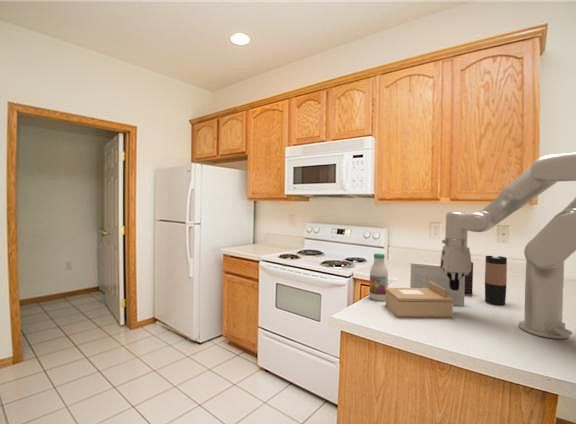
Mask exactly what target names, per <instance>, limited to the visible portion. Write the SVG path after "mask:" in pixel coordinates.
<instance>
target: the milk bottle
mask: <svg viewBox="0 0 576 424" xmlns="http://www.w3.org/2000/svg"><path fill="white" fill-rule="evenodd" d="M385 257H386V256H385V253H374V254H373V259H374V260H373V261H374V262H373V263H372V266H371V268H370V272H369V298H370V299H371V300H373V301H378V302H384V301H385V302H386V290H385V288H389V277H388V276H389V274H388V269H387V266H386V264H385Z"/></svg>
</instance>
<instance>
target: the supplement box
mask: <svg viewBox="0 0 576 424" xmlns="http://www.w3.org/2000/svg"><path fill="white" fill-rule="evenodd" d="M473 280H474V262H472V261H471V272H469V275H466V276H465V284H464V297H473V285H474V284H473V282H474V281H473Z"/></svg>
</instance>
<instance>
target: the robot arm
mask: <svg viewBox="0 0 576 424" xmlns="http://www.w3.org/2000/svg"><path fill="white" fill-rule="evenodd" d="M557 182H576V152H566V153H555V154H554V153H553V154H546V155H542V156H540V157H538V158H537V159H535V160H534V161H533V162H532V165H531V166H530V168H528V169H527V170H525V171H524V172H523V173H521V174H520V175H519V176H517V177H516V178H515V179H514V180H512V181H511V182H510V183H508V184H507V185H505V187H504V188H503V189H502V190H501V191H500V193H499V194H498V196H497V197H495V199H494V200H492V201H491V202H490V203H489V204H488V205H486V206H485V207H483V208H482V209H481V210H479V211H475V212H466V211H465V212H464V211H448V212H447V213H446V214H445V235H444V237H445V238H444V239H443V240H442V241H441V243H442V244H444V245H443V246H442V250H441V254H440V263H439V265H440V268H441V272H440V273H441V274H443V275H447V277H448V278H449V279H450V282H449V286H450V289H452V290H457V291H458V290H459V280H461V278H462V277H463V276H466V275H469V272H471V262H472V257H471V256H472V255H471V249H470V247H469V246H468V232H472V233H473V232H474V233H484V232H488V231H489V230H491V229H493V228H494V227H495V226H496V225H498V224H500V223H501V222H502V221H504V220H505V219H507V218H508V217H510V216H511V215H512V214H513V213H515V212H517V211H519V210H520V209H521V208H523V207H524V206H525V205H527V204H528V203H530V202H532V200H533V199H535V198H536V197H538V196H540V195H541V194H543V192H545V191H547V190H548V189H550V188H551V187H553V186H554V185H555V184H556V183H557ZM523 252H524V253H523V254H524V257H525V259H526V260H525V261H526V262H525V281H524V283H525V285H524V292H525V293H524V320H521V321H519V322H518V327H519V328H520V330H522V331H525V332H527V333H529V334H531V335H535V336H537V337H543V338H547V339H556V340H564V339H568V338H569V336H571V335H573V332H572V331H571V330H570V329H567V328H566V323H565V322H563V307H564V306H563V305H564V304H563V302H564V284H565V282H564V279H565V277H564V275H565V274H564V271H565V261H566V260H568V258H569V257H570V256H571V255H573V254H574V253H575V252H576V197H574V199H572V201H571V202H570V203H568V204H567V206H566V207H564V209H562V210H561V211H560V212H558V213H557V214H556V215H554V216H553V217H552V218H551V220H549V221H548V223H547V224H546V225H545V226H544V227H543V228H541V230H540V231H539V232H538V233H537V234H536V235H535V236H534V237H533V238H532V239H530V240H529V241H528V242H527V243H526V245H525V247H524V251H523ZM454 273H455V274H454Z"/></svg>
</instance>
